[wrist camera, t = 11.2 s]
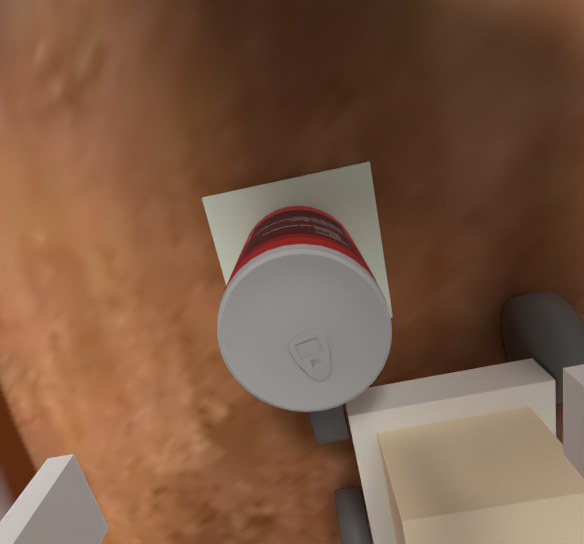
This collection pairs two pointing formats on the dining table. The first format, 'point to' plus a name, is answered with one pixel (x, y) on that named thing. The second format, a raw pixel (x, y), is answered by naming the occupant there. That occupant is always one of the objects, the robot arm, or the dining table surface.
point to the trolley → (469, 444)
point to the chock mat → (302, 192)
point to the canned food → (303, 314)
